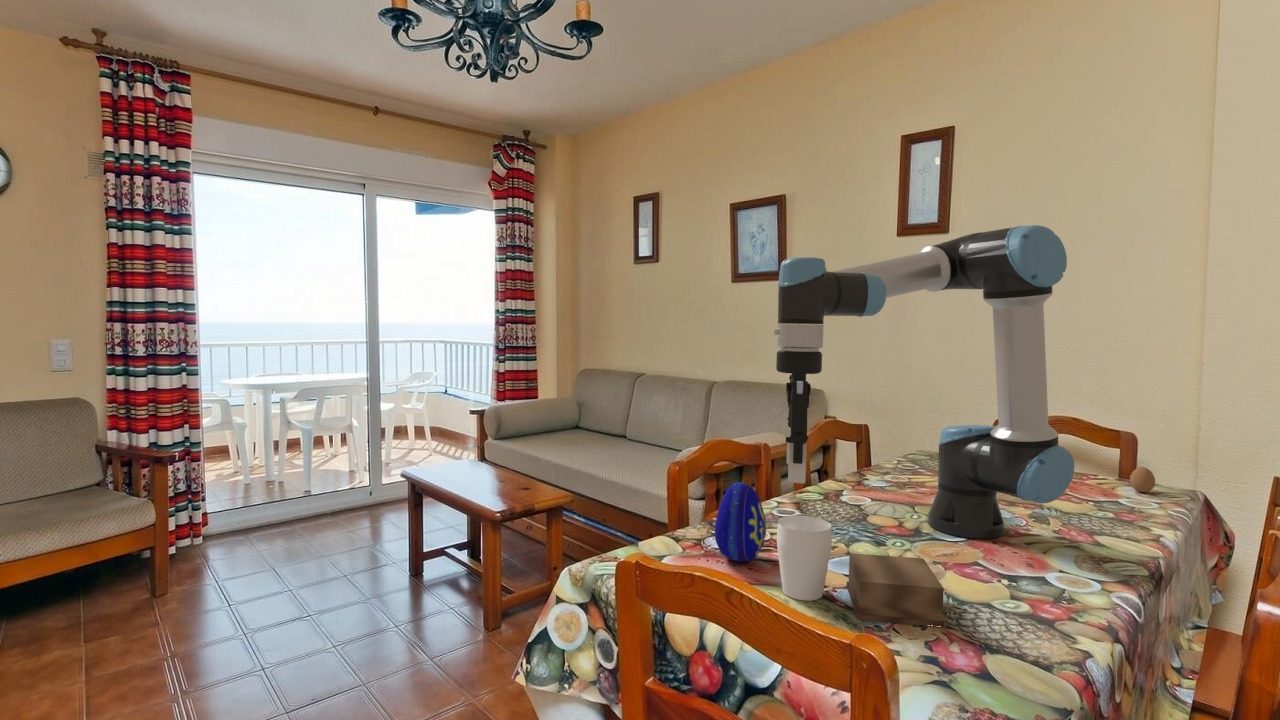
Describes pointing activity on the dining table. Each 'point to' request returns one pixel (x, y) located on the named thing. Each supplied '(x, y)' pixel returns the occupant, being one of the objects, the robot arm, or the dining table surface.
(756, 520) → the ornament
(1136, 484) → the egg
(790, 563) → the cup
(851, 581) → the riser
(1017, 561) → the dining table surface
